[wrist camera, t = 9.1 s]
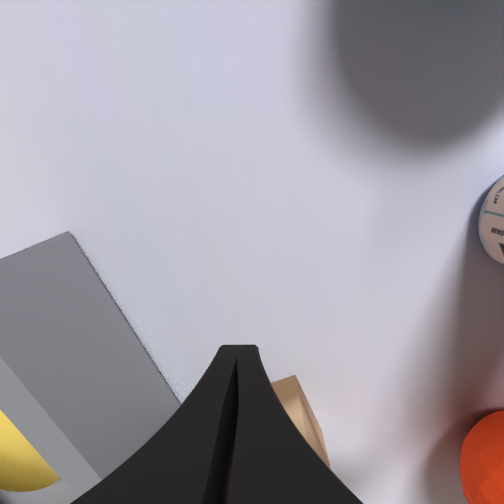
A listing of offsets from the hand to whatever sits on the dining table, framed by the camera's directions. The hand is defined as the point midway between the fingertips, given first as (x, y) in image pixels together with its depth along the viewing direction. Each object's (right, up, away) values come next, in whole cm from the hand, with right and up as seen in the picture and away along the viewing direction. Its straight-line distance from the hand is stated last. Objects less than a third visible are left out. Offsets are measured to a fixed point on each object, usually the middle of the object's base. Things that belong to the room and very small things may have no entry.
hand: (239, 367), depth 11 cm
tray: (-10, -3, +4) cm, 11 cm away
